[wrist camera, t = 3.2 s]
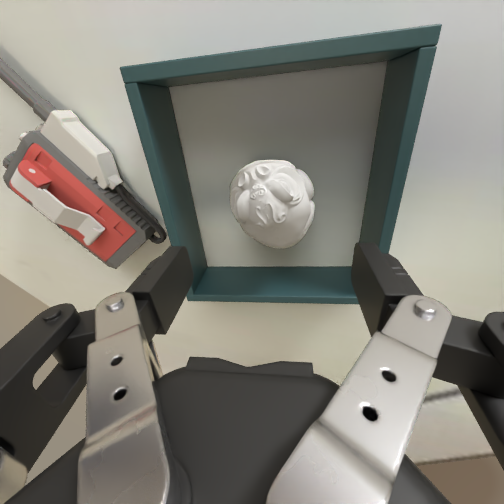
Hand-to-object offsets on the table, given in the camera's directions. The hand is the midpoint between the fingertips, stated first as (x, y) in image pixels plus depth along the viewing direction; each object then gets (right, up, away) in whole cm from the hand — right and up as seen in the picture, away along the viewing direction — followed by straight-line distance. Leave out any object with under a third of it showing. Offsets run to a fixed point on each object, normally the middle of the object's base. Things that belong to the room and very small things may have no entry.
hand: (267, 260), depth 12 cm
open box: (+1, +6, +9) cm, 11 cm away
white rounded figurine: (+1, +6, +9) cm, 11 cm away
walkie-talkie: (-17, +8, +10) cm, 21 cm away
